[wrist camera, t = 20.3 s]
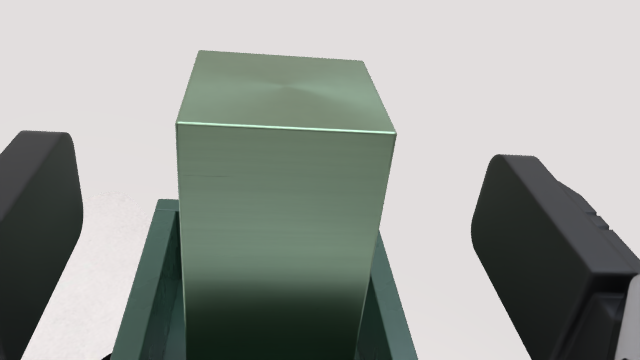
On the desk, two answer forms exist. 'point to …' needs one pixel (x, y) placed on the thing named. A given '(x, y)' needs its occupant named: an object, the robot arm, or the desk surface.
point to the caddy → (168, 306)
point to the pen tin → (279, 204)
